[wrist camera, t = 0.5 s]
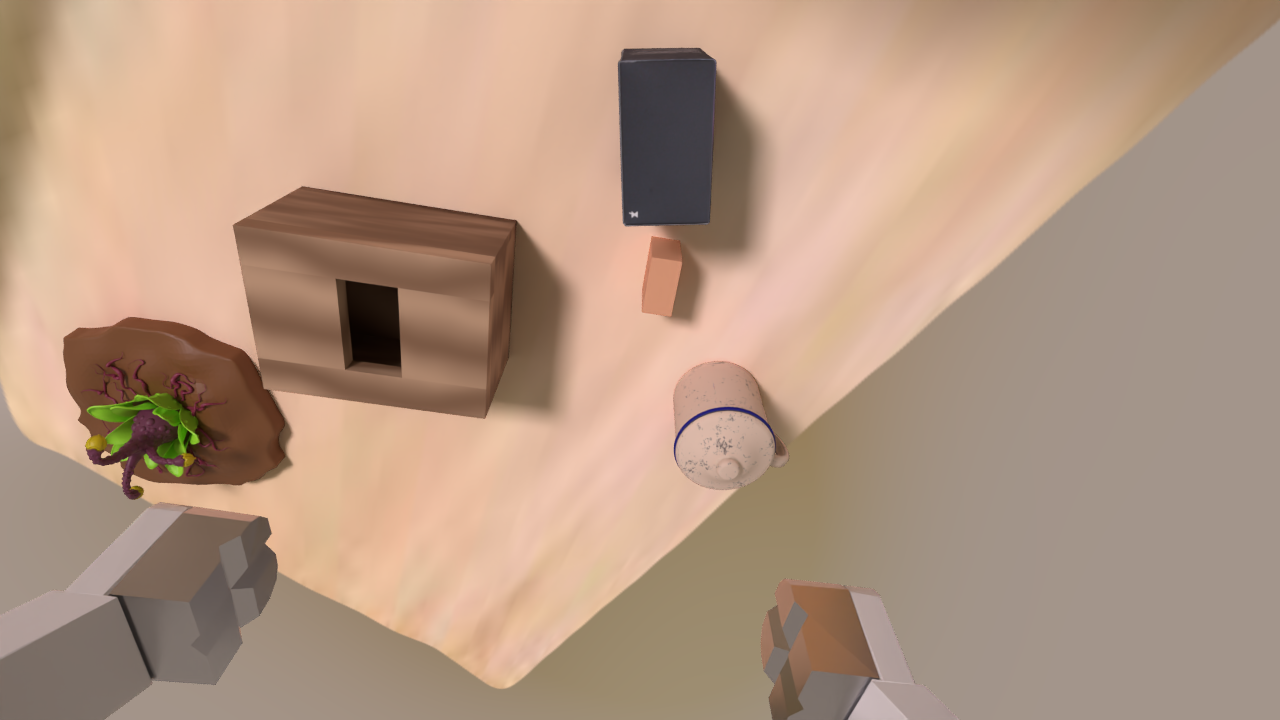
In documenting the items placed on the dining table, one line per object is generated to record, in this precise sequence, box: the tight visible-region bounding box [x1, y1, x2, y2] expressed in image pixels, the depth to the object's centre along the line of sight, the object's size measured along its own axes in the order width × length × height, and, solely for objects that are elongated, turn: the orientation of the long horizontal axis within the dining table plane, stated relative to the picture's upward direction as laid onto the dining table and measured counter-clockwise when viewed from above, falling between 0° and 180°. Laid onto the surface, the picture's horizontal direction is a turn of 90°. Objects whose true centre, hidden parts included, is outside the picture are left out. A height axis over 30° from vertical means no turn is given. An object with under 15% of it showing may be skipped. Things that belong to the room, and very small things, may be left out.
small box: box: [618, 48, 716, 226], centre depth 44 cm, size 11×6×10 cm, turn 1°
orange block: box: [642, 236, 682, 317], centre depth 52 cm, size 5×2×5 cm, turn 171°
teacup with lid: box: [673, 361, 789, 490], centre depth 57 cm, size 12×9×12 cm
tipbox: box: [233, 186, 517, 419], centre depth 51 cm, size 14×18×10 cm
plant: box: [63, 317, 285, 500], centre depth 58 cm, size 20×20×11 cm
